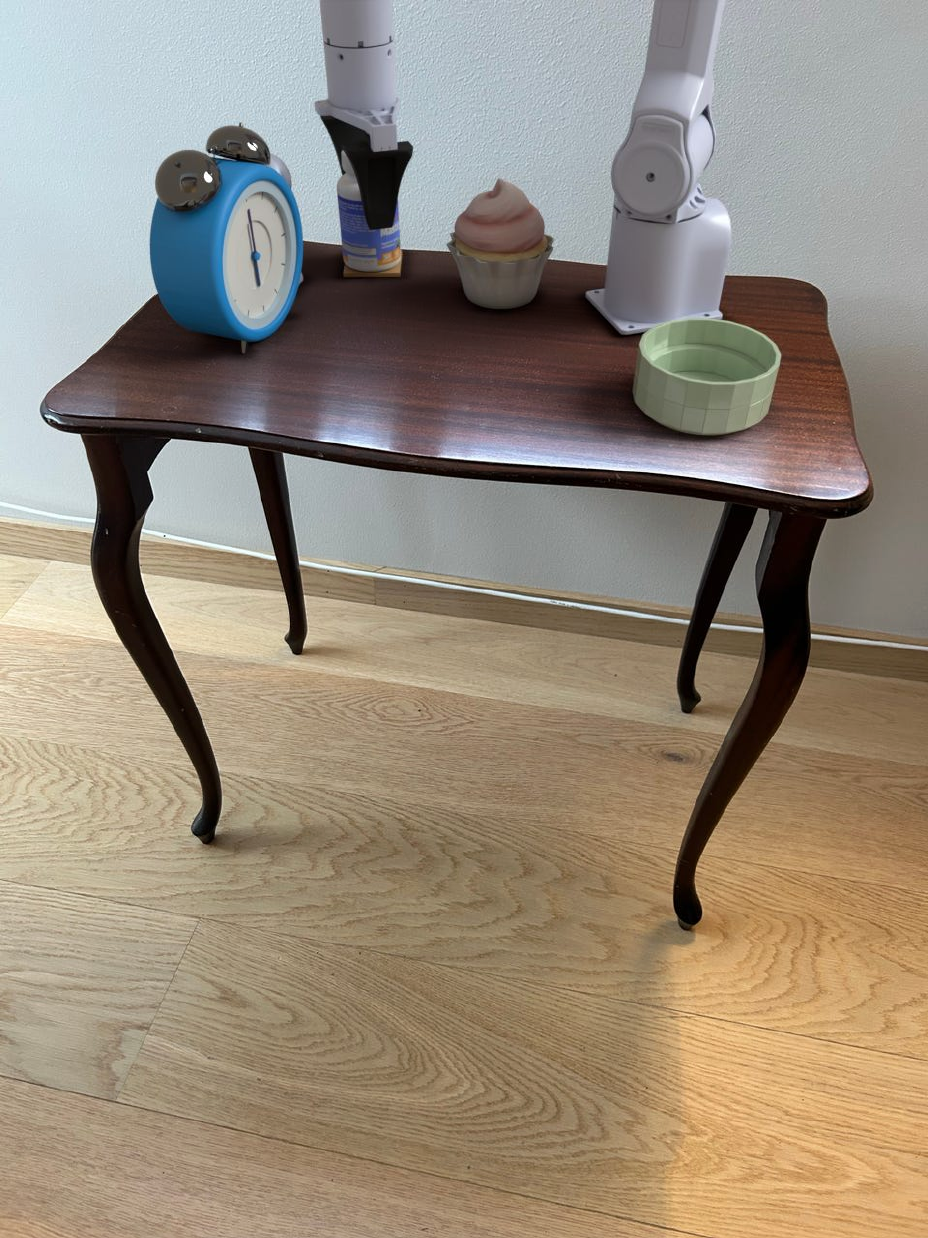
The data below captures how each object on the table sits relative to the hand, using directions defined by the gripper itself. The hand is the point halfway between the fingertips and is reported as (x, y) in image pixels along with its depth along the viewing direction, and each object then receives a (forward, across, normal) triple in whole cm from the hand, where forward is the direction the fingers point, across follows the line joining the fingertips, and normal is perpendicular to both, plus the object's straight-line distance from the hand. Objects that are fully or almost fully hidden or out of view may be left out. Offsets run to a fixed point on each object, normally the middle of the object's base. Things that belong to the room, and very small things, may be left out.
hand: (370, 211), depth 86 cm
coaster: (+5, 0, 0) cm, 5 cm away
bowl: (+5, +32, +17) cm, 37 cm away
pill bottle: (+5, 0, 0) cm, 5 cm away
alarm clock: (+5, +10, -14) cm, 17 cm away
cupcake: (+5, +10, +9) cm, 14 cm away
